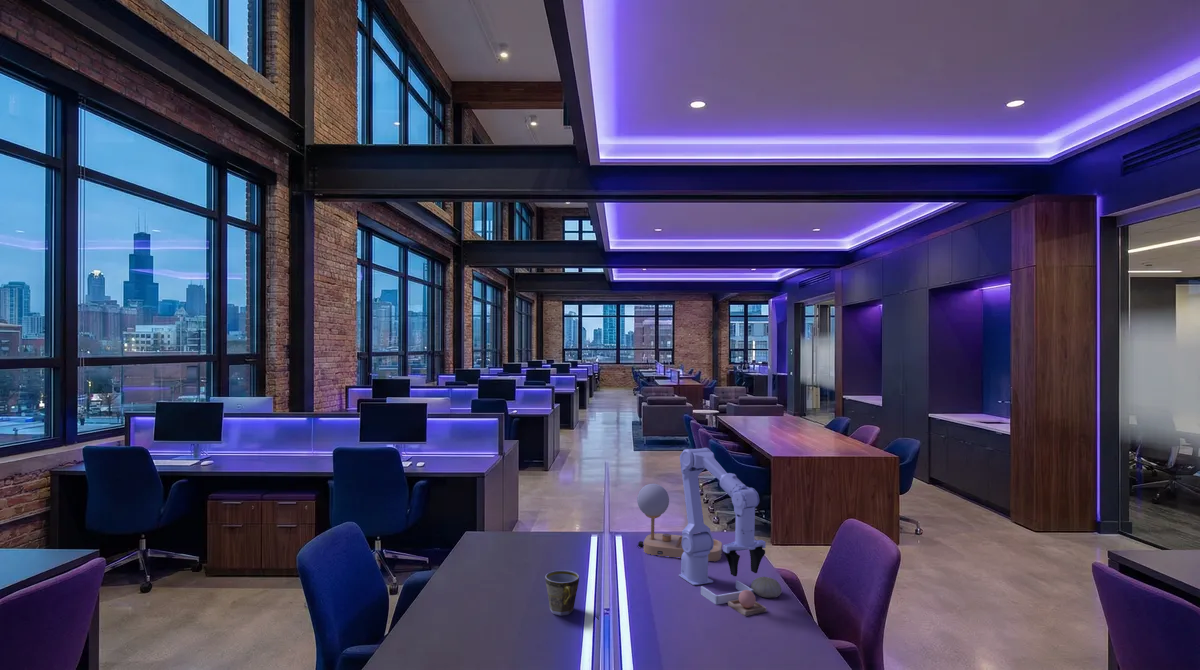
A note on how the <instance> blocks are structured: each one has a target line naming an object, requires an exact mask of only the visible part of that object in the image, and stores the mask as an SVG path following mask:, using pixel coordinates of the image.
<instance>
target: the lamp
mask: <svg viewBox="0 0 1200 670" xmlns="http://www.w3.org/2000/svg"><path fill="white" fill-rule="evenodd" d="M636 500H637V506H638V508H639V510H640V511H641V512H642V513H643V514H644V515H645V516H646V517H647V518H649V519H650V534H648V535H646V537H645V538H644V539H643V541H642V540H640V541H639V542H637V544H638V545H637V547H638V546H639V547H640V548H641V546H643V545H644V546H643V550H644V551H643V553H644V552H645V553H644V554H646V553H647V554H646V555H648V554H651V555H650V556H652V555H660V556H669V557H680V558H681V557H682V554H683V552H684V550H683V548H682V535H680V534H671V533H657V532H656V533H655V522H656V521H655V519H658V518H660V517H661V516H662V515H663V514H664V513H665V512H666V511H667V510H668V508H669V505H670V497H669V493H668V491H667V490H666V489H665V487H663V486H662V485H660V484H657V483H648V484H645V485H644V486H642V488H641V489H640V490H639V491H638V494H637V499H636ZM713 541H714V546H713V549H712V550H710V554H708V561H714V562H718V561H720V560H721V558H722V555H723V543H722V541H721V540H718V539H715V538H713ZM721 554H722V555H721ZM660 556H659V557H660ZM669 557H668V558H669Z"/></svg>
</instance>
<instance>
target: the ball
mask: <svg viewBox="0 0 1200 670" xmlns="http://www.w3.org/2000/svg"><path fill="white" fill-rule="evenodd" d="M739 602H740V604H741V605H742V606H743V607H745V608H751V607H753V606H754V604H755V602H757V601H756V595H755V593H754V594H753V592H751V591H749V590H743V591H742V592H741V593H740V594H739Z"/></svg>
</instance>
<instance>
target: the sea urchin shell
mask: <svg viewBox="0 0 1200 670" xmlns="http://www.w3.org/2000/svg"><path fill="white" fill-rule="evenodd" d="M750 588H752V589H753V590H754V595H755V594H756V595H757V596H758V597H760V598H764V599H765V598H768V599H769V598H771V599H773V598H777V597H779V596H780V595H781V594H782V587H781V584H780V583H779V582H778V581H777V580H776V579H775V578H773V577H768V576H759V577H756V578H755V579H753V580H752V582H751V584H750Z"/></svg>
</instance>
